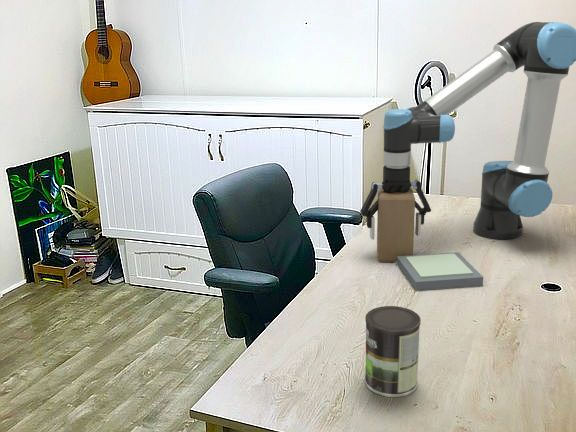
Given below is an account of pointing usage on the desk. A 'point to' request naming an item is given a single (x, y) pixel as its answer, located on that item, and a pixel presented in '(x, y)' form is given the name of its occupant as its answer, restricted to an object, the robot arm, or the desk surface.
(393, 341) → the coffee can
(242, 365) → the desk surface
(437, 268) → the plinth
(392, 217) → the wooden block
